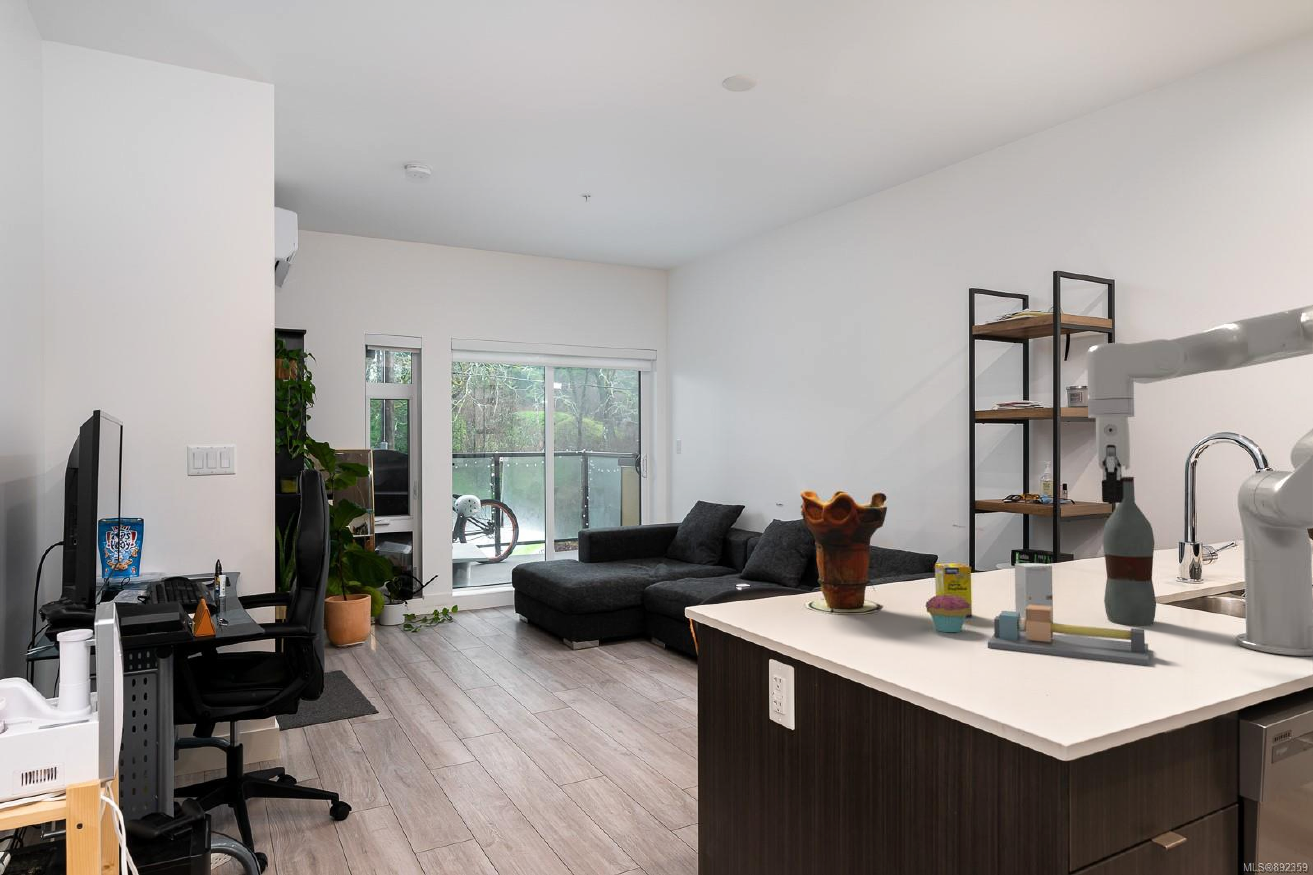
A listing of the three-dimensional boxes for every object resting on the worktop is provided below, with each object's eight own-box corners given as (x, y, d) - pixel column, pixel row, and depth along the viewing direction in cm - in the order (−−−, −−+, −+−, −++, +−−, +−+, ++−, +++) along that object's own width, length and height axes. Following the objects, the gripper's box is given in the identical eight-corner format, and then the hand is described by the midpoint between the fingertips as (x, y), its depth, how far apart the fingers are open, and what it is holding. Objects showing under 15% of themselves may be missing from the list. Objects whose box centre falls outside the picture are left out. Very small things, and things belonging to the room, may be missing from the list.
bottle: (1142, 616, 167) (1139, 475, 167) (1166, 626, 158) (1162, 477, 158) (1096, 616, 168) (1093, 476, 168) (1117, 626, 159) (1113, 477, 159)
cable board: (1148, 649, 141) (1147, 619, 141) (1148, 665, 131) (1147, 633, 131) (998, 633, 154) (997, 606, 154) (987, 647, 144) (987, 618, 144)
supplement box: (972, 617, 169) (971, 566, 169) (944, 618, 169) (943, 567, 169) (962, 612, 175) (961, 562, 175) (935, 612, 175) (934, 563, 175)
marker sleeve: (1053, 636, 146) (1052, 606, 146) (1050, 641, 142) (1049, 610, 142) (1029, 634, 148) (1028, 604, 148) (1026, 639, 144) (1025, 608, 144)
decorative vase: (903, 599, 188) (898, 482, 187) (875, 623, 168) (869, 493, 167) (820, 592, 199) (815, 482, 198) (784, 614, 179) (779, 492, 178)
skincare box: (1027, 625, 161) (1025, 566, 161) (1014, 620, 165) (1013, 563, 165) (1054, 624, 161) (1053, 565, 162) (1041, 619, 166) (1040, 562, 166)
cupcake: (923, 632, 156) (922, 572, 156) (929, 623, 164) (928, 566, 164) (969, 636, 152) (968, 574, 152) (974, 627, 160) (972, 568, 160)
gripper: (1133, 407, 138) (1136, 504, 138) (1134, 410, 153) (1136, 498, 153) (1085, 408, 142) (1087, 503, 142) (1090, 411, 157) (1092, 497, 157)
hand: (1113, 500), depth 147 cm, fingers open, 9 cm apart
